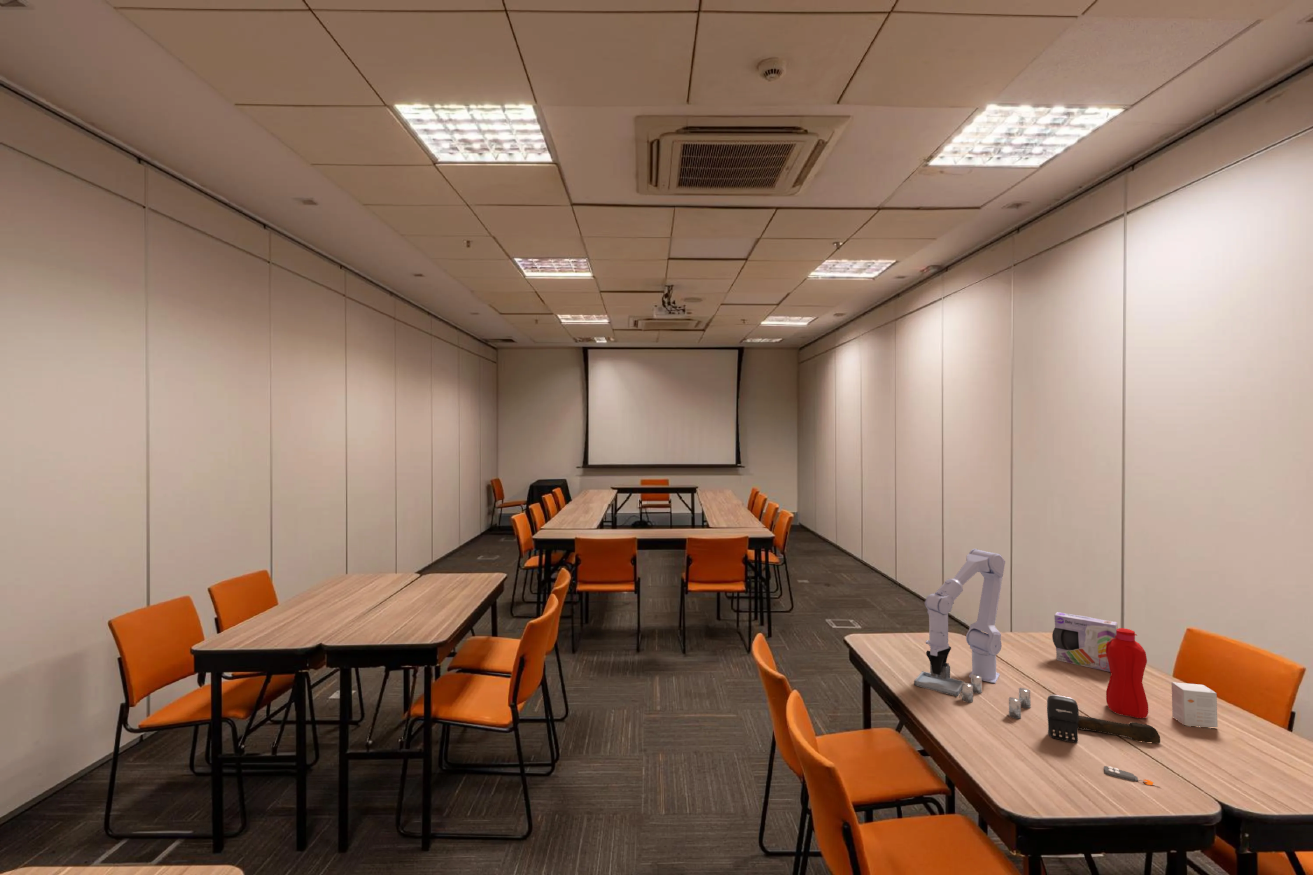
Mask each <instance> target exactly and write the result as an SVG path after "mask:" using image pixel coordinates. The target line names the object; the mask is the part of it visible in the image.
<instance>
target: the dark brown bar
mask: <svg viewBox="0 0 1313 875" xmlns="http://www.w3.org/2000/svg"><path fill="white" fill-rule="evenodd" d="M1078 729H1080V730H1082V731H1084V730H1086V731H1087V730H1088V731H1094V732H1099V733H1104V734H1110V735H1115V736H1121V737H1122V736H1123V737H1126V738H1129V739H1131V738H1132V739H1131V740H1133V741H1135V742H1139V741H1142V742H1141V743H1147V742H1152V743H1151V744H1160V743H1161V736H1160V734H1159V732H1158V730H1157V729H1156V728H1155V727H1153V725H1149V724H1143V723H1141V722H1135V721H1134V722H1133V721H1131V722H1129V723H1123V722H1116V721H1111V720H1105V719H1100V718H1099V719H1098V718H1096V717H1091V716H1090V717H1088V716H1085V715H1079V721H1078Z"/></svg>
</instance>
